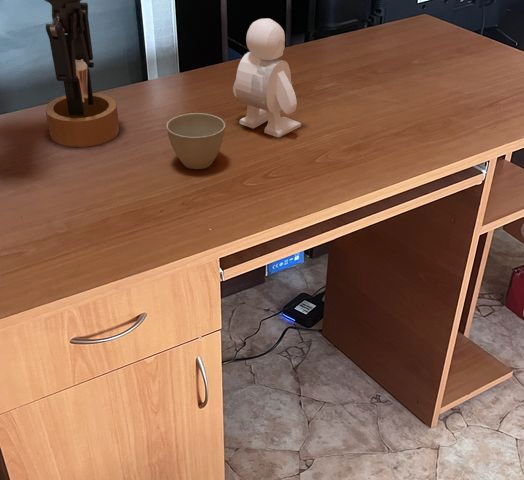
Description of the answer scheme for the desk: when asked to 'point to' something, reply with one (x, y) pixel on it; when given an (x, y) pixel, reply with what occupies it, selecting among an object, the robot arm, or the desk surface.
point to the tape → (83, 122)
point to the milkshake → (82, 81)
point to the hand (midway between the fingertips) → (81, 108)
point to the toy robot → (266, 80)
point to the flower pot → (196, 138)
